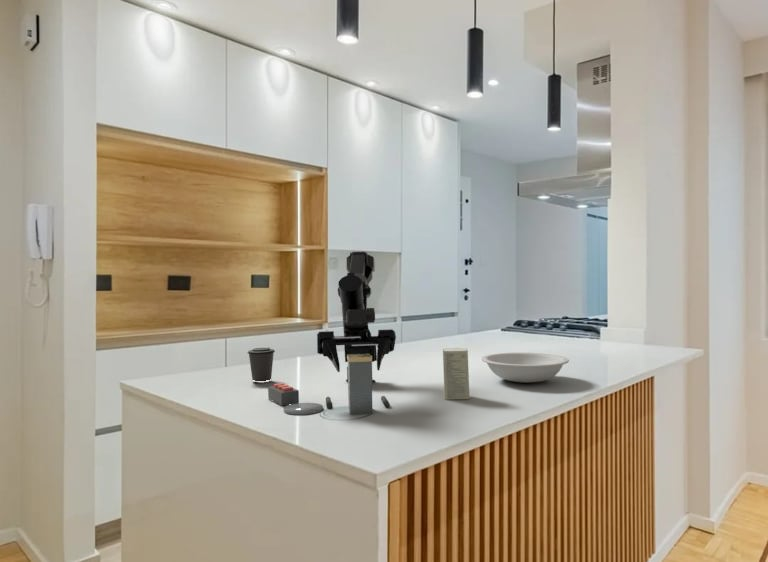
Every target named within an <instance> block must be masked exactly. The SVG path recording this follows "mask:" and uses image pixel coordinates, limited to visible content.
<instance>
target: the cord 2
mask: <svg viewBox="0 0 768 562" xmlns="http://www.w3.org/2000/svg"><path fill="white" fill-rule="evenodd" d="M380 400H381V402H382V404H383V406H384V407H385V408H390V407H391V404H390V402H389V400H388V398H387V397H386V396H385V395H382V396H381V397H380Z"/></svg>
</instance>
